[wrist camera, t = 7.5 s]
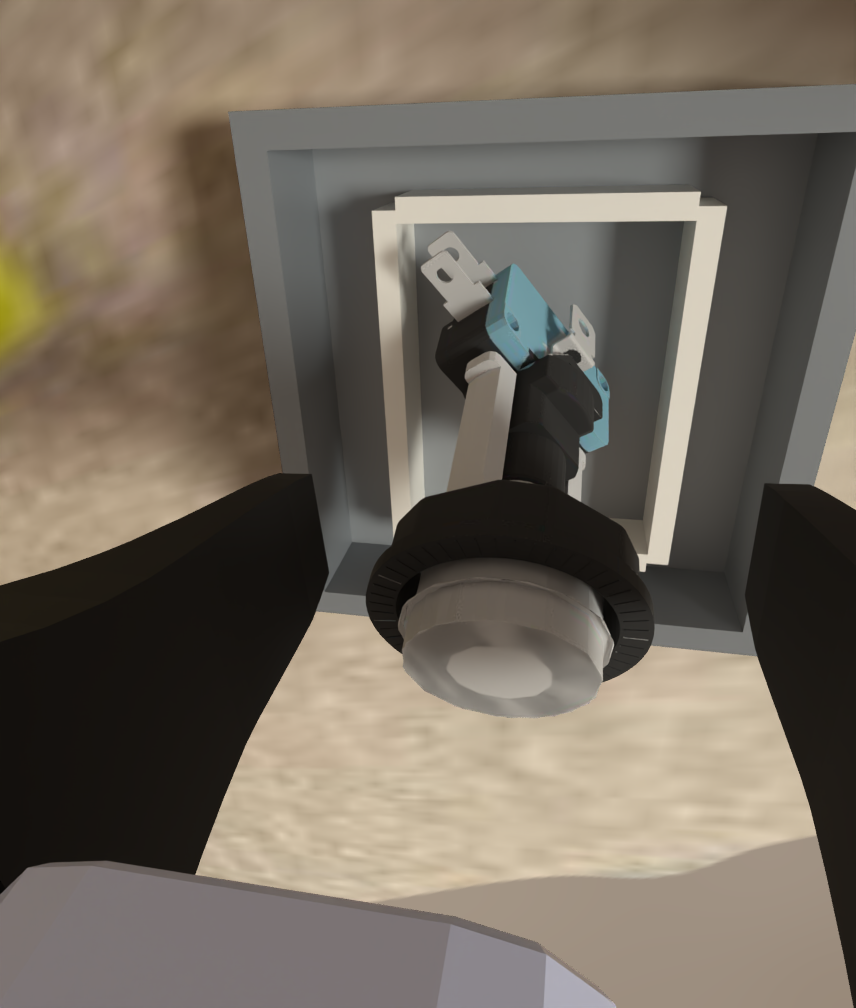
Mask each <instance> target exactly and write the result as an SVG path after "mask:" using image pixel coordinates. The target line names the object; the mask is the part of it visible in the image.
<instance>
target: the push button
mask: <svg viewBox="0 0 856 1008" xmlns="http://www.w3.org/2000/svg"><path fill="white" fill-rule="evenodd" d="M449 247H452V248H455V249H456V250H457V251H458V253H459V258H458V259H457V260H456V261H455V260H454V259H453V257H452V256H451V255H450V254H449V253H448V251H444V250H445V249H446V248H449ZM428 252H429V253H430V254H431V256H432V258H430V259H429V260H428V261H426V262H425V263H423V264H422V266H421V271H422V273H423V274H424V275H425V276H426V277H427V278H428V279H429V281H430V282H431V283H432V284H433V285H434V286H435V288H436V289H437V290H438V291H439V292H440V293H441V295H442V296H443V297H444V298H445V299H446V300H447V302H445V303H444V304H443V305H444V307H445V308H446V309H447V310H448V311H449V312H450V313H451V315H452V316H453V317H454V320H453V321H452V322H450V323H449V324H447V325H445V326H444V327H443V328H442V330H441V334H440V338H439V342H438V345H437V349H436V353H435V359H436V363H437V365H438V367H439V368H440V369H441V371H442V372H443V373H444V374H445V375H446V376H447V377H448V378H449V379H450V380H451V381H452V382H453V383H454V385H455V386H456V387H457V388H458V389H459V390H460V391H461V392H462V393H463V396H464V398H465V405H464V409H463V414H462V419H461V424H460V429H459V433H458V438H457V443H456V448H455V453H454V457H453V462H452V467H451V472H450V477H449V481H448V486H447V491H446V492H444V493H440V494H436V495H432V496H427V497H425V498H423V499H421V500H420V501H419V502H418V503H417V504H416V505H415V506H414V507H413V508H412V509H411V510H410V511H409V512H408V513H407V514H406V515H405V516H404V517H403V518H402V519H401V520H400V521H399V522H398V524H397V527H396V531H395V534H394V538H393V542H392V545H391V546H390V547H389V548H388V549H387V550H385V552H384V553H383V554H382V555H381V556H380V557H379V559H378V560H377V562H376V563H375V565H374V567H373V570H372V572H371V575H370V579H369V583H368V586H367V591H366V607H367V612H368V615H369V617H370V620H371V621H372V623H373V625H374V627H375V628H376V630H377V631H378V632H379V634H380V635H381V636H382V637H383V638H384V639H385V640H386V641H387V642H388V643H389V644H390V645H391V646H392V647H393V648H395V649H396V650H397V651H399V652H400V653H401V654H403V668H404V669H405V672H406V673H407V674H408V675H409V676H410V677H411V678H412V679H413V680H414V681H415V682H416V683H417V684H418V685H419V686H420V687H421V688H422V689H423V690H424V691H426V692H428V693H430V694H432V695H434V696H436V697H438V698H440V699H442V700H444V701H446V702H448V703H450V704H452V705H454V706H456V707H460V708H462V709H467V710H472V711H476V712H480V713H484V714H488V715H492V716H501V717H507V718H518V717H520V718H540V717H547V716H556V715H559V714H563V713H569V712H572V711H574V710H576V709H577V708H579V707H581V706H583V705H586V704H589V703H590V701H591V700H593V699H594V698H596V695H597V692H598V689H599V686H600V685H601V683H602V682H605V681H608V680H610V679H612V678H615V677H617V676H619V675H621V674H622V673H624V672H626V671H628V670H629V669H630V668H632V667H633V666H635V665H636V664H637V663H638V662H639V661H640V660H641V659H642V658H643V657H644V655H645V654H646V653H647V652H648V650H649V648H650V646H651V644H652V641H653V638H654V630H655V624H654V608H653V602H652V598H651V595H650V593H649V591H648V589H647V587H646V585H645V584H644V582H643V581H642V580H641V578H640V568H639V557H638V555H637V553H636V551H635V549H634V546H633V544H632V542H631V540H630V538H629V536H628V534H627V532H626V530H625V529H624V528H623V527H622V526H621V525H620V524H618V523H617V522H615V521H613V520H611V519H610V518H608V517H606V516H604V515H603V514H601V513H599V512H598V511H596V510H594V509H592V508H591V507H589V506H587V505H585V504H584V503H582V502H581V488H582V471H583V470H584V468H585V465H586V456H585V454H587V453H589V452H591V451H593V450H596V449H598V448H600V447H603V446H605V445H608V441H609V399H610V390H609V386H608V383H607V381H606V379H605V377H604V376H603V374H602V373H601V372H600V370H599V369H598V368H596V367H595V366H594V365H595V362H594V361H593V358H595V332H594V330H593V327H592V325H591V324H590V323H589V321H588V320H587V319H586V317H585V316H584V314H583V313H582V312H581V310H580V309H579V308H578V306H577V305H574V304H572V305H571V306H570V320H569V330H570V331H571V333H569V332H568V331H567V329H566V328H565V327H564V325H563V324H562V323H561V321H560V320H559V319H558V318H557V316H556V315H555V314H554V312H553V311H552V310H551V308H550V307H549V306H548V304H547V303H546V302H545V301H544V299H543V298H542V297H541V295H540V294H539V293H538V291H537V290H536V289H535V287H534V286H533V285H532V284H531V282H530V281H529V280H528V278H527V277H526V276H525V274H524V273H523V272H522V270H521V269H520V268H519V267H518V266H517V265H516V264H511V265H510V266H508V267H507V268H505V269H504V270H502V271H501V272H499V273H498V274H496V275H495V274H494V272H493V271H492V270H491V269H490V267H489V266H488V265H487V264H486V262H485V261H484V260H483V261H482V262H480V263H478V262H477V261H476V259H475V258H474V257H473V256H472V254H471V253H470V252H469V251H468V249H467V248H466V247H465V246H464V244H463V243H462V242H461V241H460V239H459V238H458V237H457V236H456V234H455V233H454V232H453V231H447V232H445V233H444V234H443V235H441V236H440V237H439V238H437V239H436V240H435V241H433V242H432V243H430V244H429V245H428ZM440 268H442V269H443V270H444V271H445V272H446V273H447V275H448V276H449V277H450V278H451V279H452V280H450V281H447V282H445V281H442V280H440V279H439V278H438V276H437V271H438V270H439V269H440ZM579 321H580V322H581V323H582V325H583V327H584V329H585V331H586V335H587V336H585V335H584V333H583V332H582V330H581V328H580V325H579ZM421 571H422V573H420V572H421Z"/></svg>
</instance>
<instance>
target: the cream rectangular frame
mask: <svg viewBox="0 0 856 1008" xmlns="http://www.w3.org/2000/svg"><path fill="white" fill-rule="evenodd" d="M700 195H701V191H699V190H697V189H696V188H694V187H693V186H691V185H639V186H588V187H537V188H486V189H435V190H411V191H409V192H406V193H404V194H401V195H399V196H396V197H395V203H389V204H387V205H384V206H382V207H380V208H377V209H375V210H373V211H372V224H373V239H374V254H375V269H376V284H377V299H378V314H379V329H380V344H381V358H382V373H383V388H384V403H385V418H386V433H387V448H388V463H389V478H390V493H391V508H392V523H393V538H394V534H395V531H396V527H397V524H398V522H399V521H400V520H401V519H402V518H403V517H404V516H405V515H406V514H407V513H408V512H409V511H410V510H411V509H412V508H413V507H414V506H415V505H416V504H417V503H418V502H419V501H420V500H421V499H423V498H425V489H424V464H423V439H422V413H421V388H420V363H419V338H418V312H417V287H416V262H415V236H414V224H425V223H524V222H623V221H684V226H683V233H682V241H681V248H680V255H679V262H678V270H677V277H676V284H675V291H674V298H673V306H672V313H671V320H670V327H669V335H668V342H667V349H666V356H665V364H664V371H663V378H662V385H661V392H660V400H659V407H658V414H657V421H656V429H655V436H654V443H653V450H652V457H651V465H650V472H649V479H648V486H647V494H646V501H645V508H644V515H643V520H632V519H618V518H610V519H611V520H613V521H615V522H617V523H618V524H620V525H621V526H622V527H623V528H624V529H625V530H626V532H627V534H628V536H629V538H630V540H631V542H632V544H633V546H634V549H635V551H636V553H637V555H638V557H639V568H640V571H641V572H645V570H646V563H648V564H660V565H668V562H669V556H670V550H671V544H672V538H673V532H674V526H675V520H676V514H677V508H678V502H679V495H680V489H681V483H682V477H683V471H684V465H685V459H686V453H687V447H688V441H689V435H690V429H691V423H692V417H693V411H694V405H695V399H696V393H697V387H698V380H699V374H700V368H701V362H702V356H703V350H704V344H705V338H706V332H707V326H708V320H709V314H710V308H711V302H712V296H713V290H714V284H715V278H716V271H717V265H718V259H719V253H720V247H721V241H722V235H723V229H724V223H725V217H726V211H727V205H725V204H723V203H722V202H720V201H718V200H717V199H715V198H713V197H705V198H700Z"/></svg>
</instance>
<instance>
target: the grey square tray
mask: <svg viewBox="0 0 856 1008" xmlns="http://www.w3.org/2000/svg"><path fill="white" fill-rule="evenodd" d="M228 114H229V120H230V127H231V133H232V140H233V147H234V153H235V160H236V167H237V173H238V180H239V186H240V193H241V200H242V206H243V213H244V220H245V226H246V233H247V239H248V246H249V253H250V259H251V266H252V273H253V279H254V286H255V292H256V299H257V306H258V312H259V319H260V326H261V332H262V339H263V345H264V352H265V359H266V365H267V372H268V379H269V385H270V392H271V398H272V405H273V412H274V418H275V425H276V432H277V438H278V445H279V451H280V458H281V465H282V471H283V473H290V474H312V478H313V483H314V489H315V495H316V500H317V506H318V511H319V517H320V523H321V528H322V534H323V540H324V545H325V551H326V557H327V562H328V568H329V575H328V578H327V581H326V584H325V587H324V590H323V593H322V596H321V599H320V602H319V604H318V607H317V609H316V611H319V612H329V613H339V614H349V615H358V616H368V617H369V615H368V612H367V607H366V591H367V586H368V583H369V579H370V575H371V572H372V570H373V567H374V565H375V563H376V562H377V560H378V559H379V557H380V556H381V555H382V554H383V553H384V552H385V550H387V549H388V548H389V547H390V546H391V545H392V542H393V523H392V508H391V493H390V478H389V463H388V448H387V433H386V418H385V403H384V388H383V373H382V358H381V344H380V329H379V314H378V299H377V284H376V269H375V254H374V239H373V224H372V211H373V210H375V209H377V208H380V207H382V206H384V205H387V204H389V203H395V197H396V196H399V195H401V194H404V193H406V192H409V191H411V190H435V189H486V188H537V187H588V186H639V185H691V186H693V187H694V188H696V189H697V190H699V191H701V195H700V198H705V197H713V198H715V199H717V200H718V201H720V202H722V203H723V204H725V205H727V211H726V217H725V223H724V229H723V235H722V241H721V247H720V253H719V259H718V265H717V271H716V278H715V284H714V290H713V296H712V302H711V308H710V314H709V320H708V326H707V332H706V338H705V344H704V350H703V356H702V362H701V368H700V374H699V380H698V387H697V393H696V399H695V405H694V411H693V417H692V423H691V429H690V435H689V441H688V447H687V453H686V459H685V465H684V471H683V477H682V483H681V489H680V495H679V502H678V508H677V514H676V520H675V526H674V532H673V538H672V544H671V550H670V556H669V562H668V565H660V564H648V563H646V570H645V572H641V571H640V578H641V580H642V581H643V582H644V584H645V585H646V587H647V589H648V591H649V593H650V595H651V598H652V602H653V608H654V624H655V630H654V638H653V641H652V644H651V645H652V646H662V647H672V648H681V649H691V650H701V651H711V652H720V653H730V654H740V655H750V656H757V654H756V651H755V646H754V641H753V637H752V632H751V627H750V622H749V616H748V611H747V605H746V600H745V590H746V585H747V579H748V573H749V568H750V562H751V556H752V551H753V545H754V539H755V534H756V528H757V522H758V517H759V511H760V505H761V500H762V494H763V488H764V483H772V484H810V485H812V486H814V483H815V480H816V476H817V472H818V469H819V465H820V461H821V457H822V454H823V450H824V446H825V443H826V439H827V435H828V432H829V428H830V424H831V421H832V417H833V413H834V410H835V406H836V402H837V398H838V395H839V391H840V387H841V384H842V380H843V376H844V373H845V369H846V365H847V362H848V358H849V354H850V350H851V347H852V343H853V339H854V336H855V332H856V84H846V85H823V86H800V87H777V88H755V89H732V90H709V91H687V92H664V93H641V94H618V95H596V96H573V97H550V98H527V99H505V100H482V101H459V102H437V103H414V104H391V105H368V106H346V107H323V108H300V109H277V110H255V111H232V112H228ZM683 226H684V221H623V222H524V223H425V224H414V236H415V262H416V287H417V312H418V338H419V363H420V388H421V413H422V439H423V464H424V489H425V497H427V496H432V495H436V494H440V493H444V492H446V491H447V486H448V481H449V477H450V472H451V467H452V462H453V457H454V453H455V448H456V443H457V438H458V433H459V429H460V424H461V419H462V414H463V409H464V405H465V398H464V396H463V393H462V392H461V391H460V390H459V389H458V388H457V387H456V386H455V385H454V383H453V382H452V381H451V380H450V379H449V378H448V377H447V376H446V375H445V374H444V373H443V372H442V371H441V369H440V368H439V367H438V365H437V363H436V359H435V353H436V349H437V345H438V342H439V338H440V334H441V330H442V328H443V327H444V326H445V325H447V324H449V323H450V322H452V321H453V320H454V317H453V316H452V315H451V313H450V312H449V311H448V310H447V309H446V308H445V307H444V305H443V304H444V303H445V302H447V300H446V299H445V298H444V297H443V296H442V295H441V293H440V292H439V291H438V290H437V289H436V288H435V286H434V285H433V284H432V283H431V282H430V281H429V279H428V278H427V277H426V276H425V275H424V274H423V273H422V271H421V266H422V264H423V263H425V262H426V261H428V260H429V259H430V258H432V256H431V254H430V253H429V252H428V245H429V244H430V243H432V242H433V241H435V240H436V239H437V238H439V237H440V236H441V235H443V234H444V233H445V232H447V231H453V232H454V233H455V234H456V236H457V237H458V238H459V239H460V241H461V242H462V243H463V244H464V246H465V247H466V248H467V249H468V251H469V252H470V253H471V254H472V256H473V257H474V258H475V259H476V261H477V262H478V263H480V262H482V261H483V260H484V261H485V262H486V264H487V265H488V266H489V267H490V269H491V270H492V271H493V272H494V274H495V275H496V274H498V273H499V272H501V271H502V270H504V269H505V268H507V267H508V266H510V265H511V264H516V265H517V266H518V267H519V268H520V269H521V270H522V272H523V273H524V274H525V276H526V277H527V278H528V280H529V281H530V282H531V284H532V285H533V286H534V287H535V289H536V290H537V291H538V293H539V294H540V295H541V297H542V298H543V299H544V301H545V302H546V303H547V304H548V306H549V307H550V308H551V310H552V311H553V312H554V314H555V315H556V316H557V318H558V319H559V320H560V321H561V323H562V324H563V325H564V327H565V328H566V329H567V331H568V332H569V333H571V331H570V330H569V320H570V306H571V305H572V304H574V305H577V306H578V308H579V309H580V310H581V312H582V313H583V314H584V316H585V317H586V319H587V320H588V321H589V323H590V324H591V325H592V327H593V330H594V332H595V358H593V361H594V362H595V365H594V366H595V367H596V368H598V369H599V370H600V372H601V373H602V374H603V376H604V377H605V379H606V381H607V383H608V386H609V390H610V399H609V441H608V445H605V446H603V447H600V448H598V449H596V450H593V451H591V452H589V453H587V454H585V456H586V465H585V468H584V470H583V471H582V488H581V502H582V503H584V504H585V505H587V506H589V507H591V508H592V509H594V510H596V511H598V512H599V513H601V514H603V515H604V516H606V517H608V518H618V519H632V520H643V515H644V508H645V501H646V494H647V486H648V479H649V472H650V465H651V457H652V450H653V443H654V436H655V429H656V421H657V414H658V407H659V400H660V392H661V385H662V378H663V371H664V364H665V356H666V349H667V342H668V335H669V327H670V320H671V313H672V306H673V298H674V291H675V284H676V277H677V270H678V262H679V255H680V248H681V241H682V233H683ZM444 251H448V253H449V254H450V255H451V256H452V257H453V259H454V260H455V261H456V260H457V259H458V258H459V253H458V251H457V250H456V249H455V248H452V247H449V248H446V249H445V250H444ZM437 276H438V278H439V279H440V280H442V281H445V282H447V281H450V280H452V279H451V278H450V277H449V276H448V275H447V273H446V272H445V271H444V270H443V269H442V268H440V269H439V270H438V271H437ZM579 325H580V328H581V330H582V332H583V333H584V335H585V336H587V335H586V331H585V329H584V327H583V325H582V323H581V322H580V321H579ZM420 573H422V571H421V572H420Z"/></svg>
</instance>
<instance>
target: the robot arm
mask: <svg viewBox="0 0 856 1008" xmlns="http://www.w3.org/2000/svg"><path fill="white" fill-rule="evenodd" d="M328 575H329V568H328V562H327V557H326V551H325V545H324V540H323V534H322V528H321V523H320V517H319V511H318V506H317V500H316V495H315V489H314V483H313V478H312V474H290V473H278V474H275V475H272V476H269V477H266V478H264V479H261V480H259V481H257V482H254V483H252V484H250V485H248V486H246V487H243V488H241V489H239V490H237V491H235V492H233V493H231V494H229V495H227V496H225V497H223V498H221V499H219V500H217V501H215V502H213V503H211V504H209V505H207V506H205V507H203V508H201V509H199V510H197V511H195V512H193V513H191V514H188V515H186V516H184V517H182V518H180V519H178V520H176V521H174V522H171V523H169V524H167V525H165V526H163V527H160V528H158V529H156V530H154V531H152V532H149V533H147V534H145V535H143V536H141V537H138V538H136V539H134V540H132V541H130V542H127V543H125V544H122V545H120V546H117V547H115V548H112V549H110V550H107V551H105V552H102V553H100V554H97V555H94V556H92V557H89V558H86V559H83V560H81V561H78V562H75V563H72V564H69V565H67V566H64V567H61V568H58V569H55V570H52V571H48V572H45V573H41V574H38V575H35V576H31V577H28V578H24V579H21V580H18V581H14V582H11V583H7V584H4V585H0V1008H616V1005H615V1004H614V1003H613V1002H612V1000H610V998H608V996H607V995H606V994H605V993H604V992H603V991H602V990H601V989H600V988H599V987H598V986H597V985H596V984H594V983H592V982H591V981H590V980H589V979H587V978H586V977H585V976H583V975H582V974H580V973H579V972H577V971H576V970H575V969H574V968H572V967H571V966H569V965H568V964H567V963H565V962H564V961H563V960H561V959H560V958H558V957H557V956H556V955H554V954H553V953H552V952H550V951H549V950H547V949H546V948H545V947H543V946H542V945H541V944H539V943H537V942H534V941H531V940H528V939H525V938H522V937H519V936H516V935H512V934H509V933H506V932H503V931H499V930H496V929H493V928H490V927H487V926H484V925H481V924H477V923H474V922H471V921H468V920H465V919H461V918H458V917H455V916H449V915H443V914H436V913H430V912H424V911H418V910H411V909H404V908H399V907H393V906H386V905H380V904H374V903H368V902H361V901H355V900H349V899H343V898H336V897H330V896H324V895H318V894H311V893H305V892H299V891H293V890H286V889H280V888H274V887H267V886H261V885H255V884H249V883H242V882H236V881H230V880H224V879H217V878H211V877H205V876H199V875H195V874H196V871H197V868H198V865H199V862H200V859H201V857H202V854H203V851H204V849H205V846H206V843H207V841H208V838H209V835H210V833H211V830H212V827H213V825H214V822H215V820H216V817H217V814H218V812H219V809H220V806H221V804H222V801H223V798H224V796H225V794H226V791H227V789H228V786H229V784H230V781H231V779H232V777H233V774H234V772H235V769H236V767H237V765H238V762H239V760H240V757H241V755H242V752H243V750H244V748H245V745H246V743H247V741H248V739H249V737H250V735H251V733H252V731H253V729H254V727H255V725H256V723H257V721H258V719H259V717H260V715H261V714H262V712H263V710H264V708H265V706H266V705H267V703H268V701H269V699H270V697H271V695H272V694H273V692H274V690H275V688H276V686H277V685H278V683H279V681H280V679H281V677H282V676H283V674H284V672H285V670H286V668H287V666H288V665H289V663H290V661H291V659H292V657H293V656H294V654H295V652H296V650H297V648H298V646H299V644H300V643H301V641H302V639H303V637H304V635H305V633H306V631H307V630H308V628H309V626H310V624H311V622H312V620H313V617H314V615H315V612H316V609H317V607H318V604H319V602H320V599H321V596H322V593H323V590H324V587H325V584H326V581H327V578H328ZM745 600H746V605H747V611H748V616H749V622H750V627H751V632H752V637H753V641H754V646H755V651H756V654H757V657H758V660H759V662H760V665H761V668H762V671H763V674H764V677H765V680H766V682H767V685H768V688H769V691H770V694H771V696H772V699H773V702H774V705H775V708H776V710H777V713H778V716H779V719H780V721H781V724H782V727H783V730H784V732H785V735H786V738H787V741H788V743H789V746H790V749H791V752H792V754H793V757H794V760H795V763H796V765H797V768H798V771H799V774H800V776H801V779H802V783H803V786H804V789H805V792H806V796H807V799H808V802H809V805H810V809H811V813H812V817H813V821H814V825H815V829H816V834H817V838H818V842H819V846H820V850H821V854H822V859H823V863H824V867H825V871H826V875H827V880H828V885H829V889H830V894H831V898H832V903H833V908H834V913H835V917H836V921H837V926H838V931H839V935H840V940H841V945H842V950H843V954H844V959H845V964H846V969H847V975H848V980H849V985H850V990H851V996H852V1000H853V1006H854V1008H856V510H855V509H853V508H851V507H850V506H848V505H846V504H845V503H843V502H842V501H840V500H838V499H836V498H835V497H833V496H831V495H830V494H828V493H826V492H824V491H822V490H820V489H818V488H816V487H814V486H812V485H810V484H772V483H764V488H763V494H762V500H761V505H760V511H759V517H758V522H757V528H756V534H755V539H754V545H753V551H752V556H751V562H750V568H749V573H748V579H747V585H746V590H745Z"/></svg>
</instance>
